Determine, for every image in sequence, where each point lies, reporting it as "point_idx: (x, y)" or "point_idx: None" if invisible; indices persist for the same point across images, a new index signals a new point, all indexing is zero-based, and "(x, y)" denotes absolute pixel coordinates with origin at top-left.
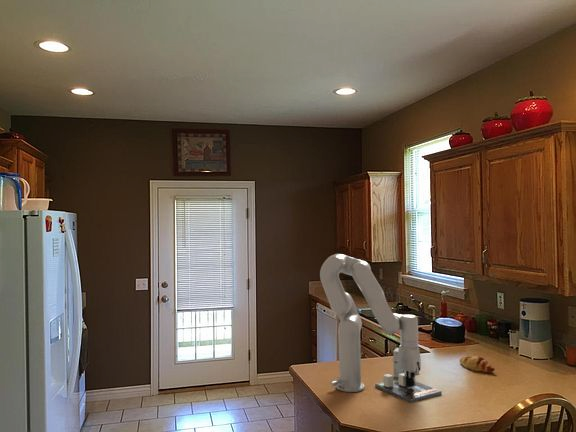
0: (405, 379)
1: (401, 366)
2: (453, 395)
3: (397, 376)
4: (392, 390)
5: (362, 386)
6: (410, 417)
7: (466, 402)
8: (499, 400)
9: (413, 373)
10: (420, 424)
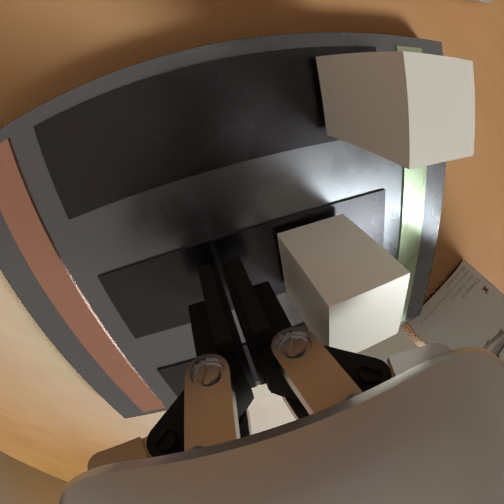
0: (307, 301)
1: (413, 428)
2: (113, 427)
3: (454, 279)
4: (217, 59)
5: None
6: None
7: (32, 425)
8: (75, 474)
9: (152, 456)
10: None
